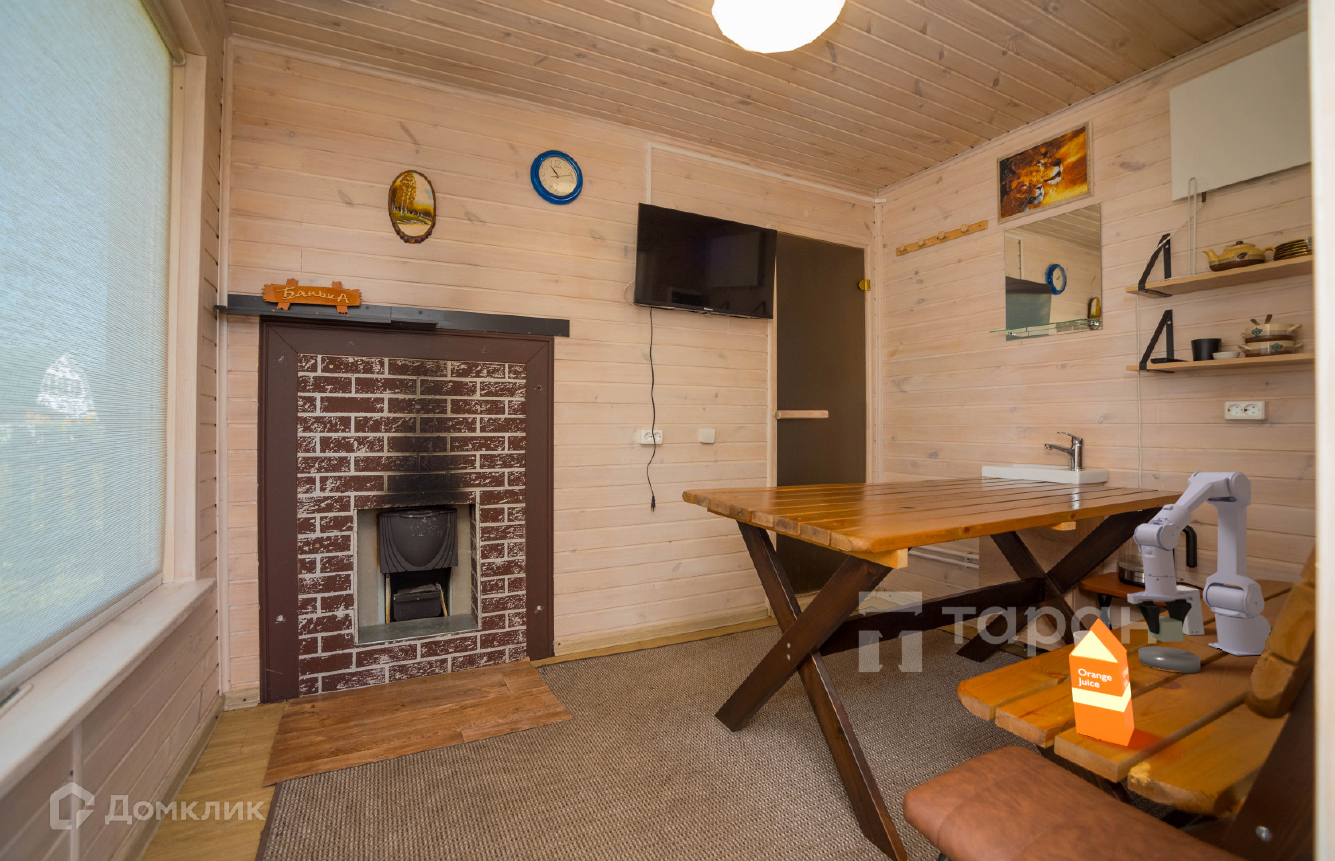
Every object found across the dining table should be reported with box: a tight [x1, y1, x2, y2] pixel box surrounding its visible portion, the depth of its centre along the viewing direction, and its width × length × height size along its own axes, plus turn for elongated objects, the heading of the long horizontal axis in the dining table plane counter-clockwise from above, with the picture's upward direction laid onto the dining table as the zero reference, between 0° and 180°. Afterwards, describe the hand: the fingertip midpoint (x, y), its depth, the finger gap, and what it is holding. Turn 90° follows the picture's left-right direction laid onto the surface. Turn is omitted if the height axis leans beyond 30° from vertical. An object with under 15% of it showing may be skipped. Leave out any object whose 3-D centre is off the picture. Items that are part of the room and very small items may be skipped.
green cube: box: [1147, 615, 1185, 643], centre depth 138 cm, size 4×4×4 cm
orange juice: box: [1068, 617, 1135, 747], centre depth 109 cm, size 8×9×20 cm
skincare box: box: [1176, 585, 1205, 636], centre depth 158 cm, size 6×4×12 cm
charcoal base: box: [1138, 645, 1202, 674], centre depth 137 cm, size 11×11×2 cm
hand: (1165, 632), depth 137 cm, fingers closed on green cube, 4 cm apart
